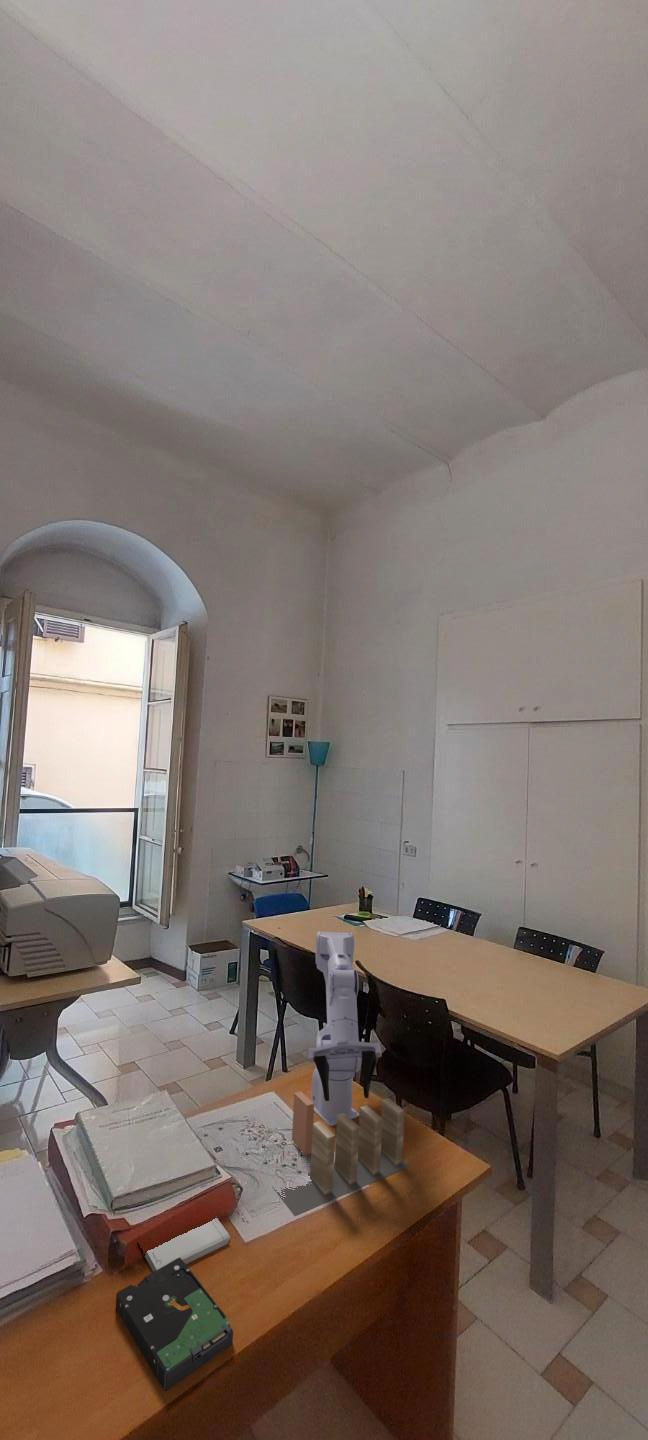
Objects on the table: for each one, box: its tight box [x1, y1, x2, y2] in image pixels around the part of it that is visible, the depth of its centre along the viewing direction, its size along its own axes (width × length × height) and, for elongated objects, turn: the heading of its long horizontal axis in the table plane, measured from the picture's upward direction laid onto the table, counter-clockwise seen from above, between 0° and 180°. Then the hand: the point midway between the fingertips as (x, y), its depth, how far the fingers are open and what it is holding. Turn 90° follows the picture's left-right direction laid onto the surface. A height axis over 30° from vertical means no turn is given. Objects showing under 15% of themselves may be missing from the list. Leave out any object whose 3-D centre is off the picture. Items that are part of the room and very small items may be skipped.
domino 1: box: [291, 1090, 315, 1156], centre depth 124 cm, size 2×5×10 cm, turn 34°
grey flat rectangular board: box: [273, 1153, 411, 1217], centre depth 116 cm, size 8×26×1 cm, turn 124°
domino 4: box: [358, 1104, 382, 1175], centre depth 120 cm, size 2×5×10 cm, turn 34°
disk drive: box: [115, 1257, 234, 1392], centre depth 85 cm, size 10×3×15 cm
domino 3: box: [334, 1113, 359, 1185], centre depth 117 cm, size 2×5×10 cm, turn 34°
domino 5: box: [380, 1097, 405, 1166], centre depth 123 cm, size 2×5×10 cm, turn 34°
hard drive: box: [144, 1217, 231, 1272], centre depth 99 cm, size 2×8×12 cm
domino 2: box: [309, 1120, 336, 1195], centre depth 114 cm, size 2×5×10 cm, turn 33°
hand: (346, 1097), depth 118 cm, fingers open, 7 cm apart
